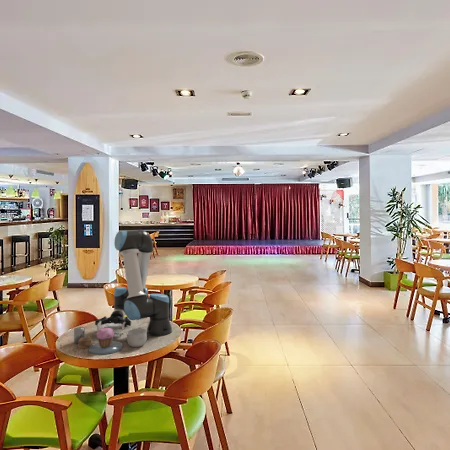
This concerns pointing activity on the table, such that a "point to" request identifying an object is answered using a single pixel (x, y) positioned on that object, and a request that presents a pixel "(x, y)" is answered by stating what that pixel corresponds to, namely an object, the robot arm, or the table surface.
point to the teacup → (136, 337)
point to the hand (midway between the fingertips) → (110, 327)
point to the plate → (100, 350)
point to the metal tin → (78, 334)
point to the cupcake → (105, 336)
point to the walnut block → (85, 342)
